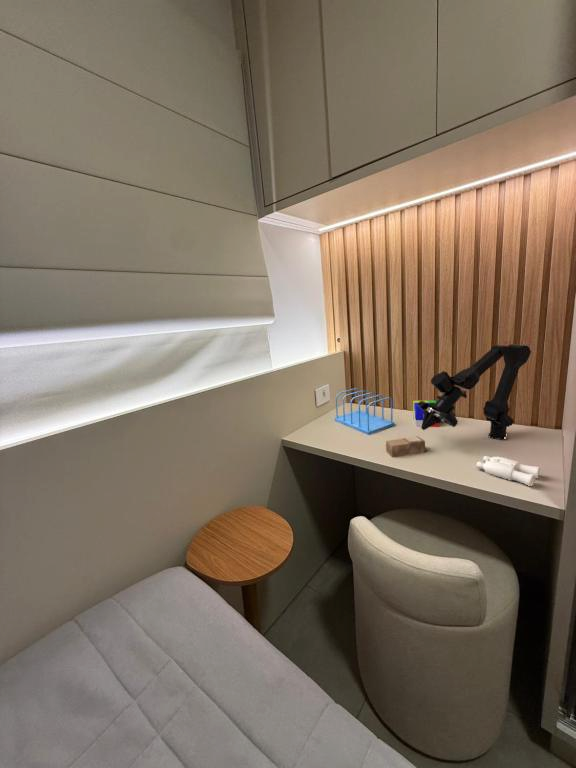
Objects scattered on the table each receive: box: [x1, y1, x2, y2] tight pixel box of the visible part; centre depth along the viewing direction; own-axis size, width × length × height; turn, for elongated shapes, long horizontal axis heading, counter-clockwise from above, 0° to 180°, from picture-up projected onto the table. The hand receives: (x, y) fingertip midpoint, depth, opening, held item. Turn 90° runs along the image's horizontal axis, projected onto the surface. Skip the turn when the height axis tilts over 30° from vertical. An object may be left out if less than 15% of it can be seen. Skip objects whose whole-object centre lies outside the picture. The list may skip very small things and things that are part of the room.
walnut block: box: [385, 435, 426, 458], centre depth 129 cm, size 5×5×14 cm
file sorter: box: [334, 387, 395, 436], centre depth 161 cm, size 25×17×15 cm
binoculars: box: [476, 455, 541, 487], centre depth 108 cm, size 10×16×5 cm, turn 40°
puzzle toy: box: [412, 400, 440, 428], centre depth 156 cm, size 10×10×10 cm
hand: (422, 429), depth 129 cm, fingers closed
